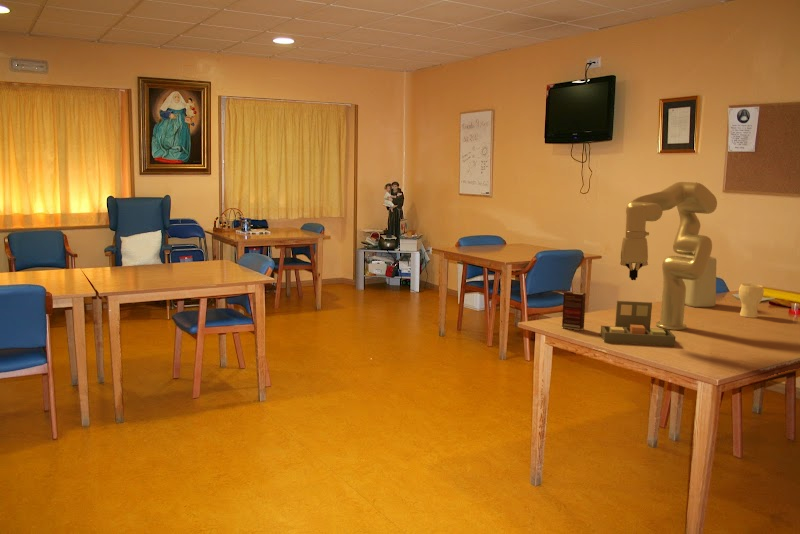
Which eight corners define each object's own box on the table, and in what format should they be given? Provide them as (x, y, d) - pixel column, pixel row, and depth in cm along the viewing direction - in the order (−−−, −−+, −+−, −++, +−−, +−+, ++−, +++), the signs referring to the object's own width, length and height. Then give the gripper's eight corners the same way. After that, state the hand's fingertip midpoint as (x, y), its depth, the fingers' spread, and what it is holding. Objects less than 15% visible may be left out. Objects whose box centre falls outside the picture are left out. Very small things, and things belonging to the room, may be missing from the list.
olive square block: (649, 336, 285) (650, 328, 284) (662, 337, 284) (662, 329, 284) (652, 340, 280) (652, 331, 279) (665, 340, 279) (665, 332, 279)
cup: (766, 317, 332) (769, 286, 330) (749, 319, 328) (752, 287, 326) (747, 313, 342) (750, 282, 339) (731, 314, 338) (734, 283, 336)
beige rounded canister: (719, 307, 355) (724, 252, 350) (693, 307, 351) (697, 252, 347) (699, 301, 369) (704, 248, 365) (674, 301, 366) (679, 249, 361)
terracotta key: (629, 332, 286) (630, 324, 285) (642, 333, 285) (642, 325, 285) (631, 335, 281) (632, 327, 280) (644, 336, 280) (645, 328, 280)
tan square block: (609, 334, 287) (609, 326, 287) (621, 335, 286) (622, 327, 286) (611, 337, 282) (611, 329, 282) (623, 338, 282) (624, 330, 281)
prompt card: (614, 333, 295) (616, 300, 293) (648, 335, 293) (651, 302, 291) (615, 333, 294) (617, 301, 292) (649, 335, 292) (652, 303, 290)
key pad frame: (600, 335, 291) (601, 325, 291) (667, 338, 287) (668, 329, 287) (604, 342, 279) (605, 332, 279) (674, 346, 276) (675, 336, 275)
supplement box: (584, 328, 301) (586, 292, 299) (580, 331, 297) (583, 294, 295) (564, 326, 306) (566, 290, 303) (561, 328, 302) (563, 292, 299)
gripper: (652, 233, 283) (650, 278, 287) (614, 233, 286) (612, 277, 289) (656, 236, 276) (654, 281, 279) (617, 236, 278) (615, 281, 282)
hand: (633, 279), depth 284 cm, fingers closed
